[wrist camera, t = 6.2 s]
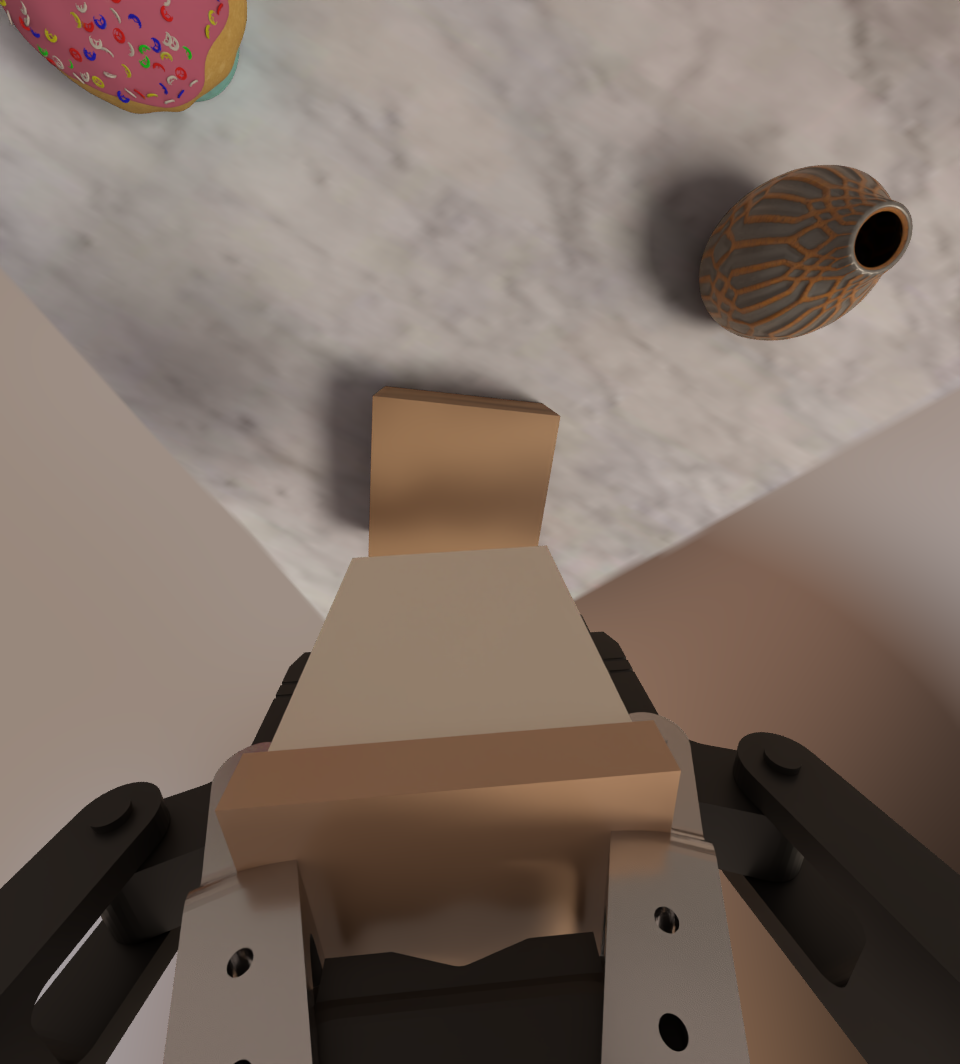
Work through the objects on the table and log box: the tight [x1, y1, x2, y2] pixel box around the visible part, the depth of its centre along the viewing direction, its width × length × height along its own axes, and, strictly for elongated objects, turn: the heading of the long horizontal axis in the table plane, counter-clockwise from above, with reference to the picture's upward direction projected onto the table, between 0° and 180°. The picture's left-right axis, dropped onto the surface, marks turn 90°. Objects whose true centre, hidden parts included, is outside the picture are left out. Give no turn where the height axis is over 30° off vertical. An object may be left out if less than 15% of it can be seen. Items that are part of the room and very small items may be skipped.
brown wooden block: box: [369, 386, 560, 557], centre depth 26 cm, size 9×9×5 cm
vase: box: [699, 165, 912, 340], centre depth 21 cm, size 7×7×9 cm
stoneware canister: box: [215, 546, 681, 966], centre depth 10 cm, size 5×5×7 cm
